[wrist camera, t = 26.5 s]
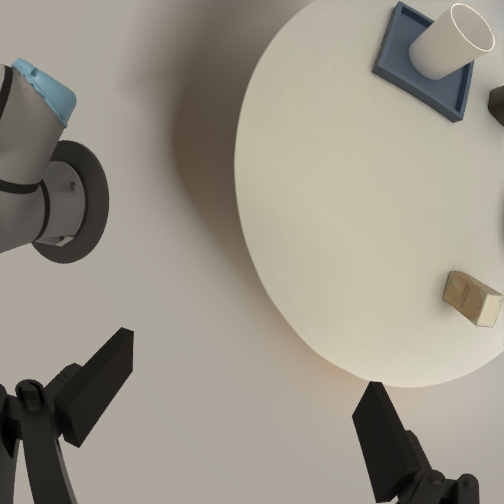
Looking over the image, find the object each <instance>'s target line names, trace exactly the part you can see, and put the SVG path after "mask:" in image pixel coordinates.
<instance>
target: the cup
mask: <svg viewBox="0 0 504 504" xmlns="http://www.w3.org/2000/svg"><path fill="white" fill-rule="evenodd" d="M494 44H495V42H494V36H493V33H492V31H491V29H490V27H489V25H488V24H487V23H486V21H485V20H484V19H483V18H482V17H481V16H480V15H479V14H478V13H477V12H476V11H475V10H473V9H472V8H470V7H469V6H466V5H464V4H454V5H453V6H451V7H450V8H449V9H448V10H447V11H446V12H445V13H444V14H443V15H441V16H440V17H439V18H438V19H437V20H436V21H435V22H434V23H433V24H432V25H431V26H430V27H429V28H428V29H427V30H425V31H424V32H423V33H422V34H421V35H420V36H419V37H418V38H417V39H416V40H415V41H414V42H413V43H412V44H411V45H410V47H409V52H408V53H409V58H410V61H411V63H412V64H413V66H414V67H415V69H416V70H417V71H418V72H419V73H420V74H422V75H423V76H425V77H426V78H429V79H432V80H439V79H441V78H443V77H445V76H447V75H448V74H450V73H452V72H453V71H455V70H457V69H459V68H461V67H462V66H464V65H466V64H468V63H469V62H471V61H473V60H475V59H477V58H479V57H480V56H482V55H484V54H486V53H488V52H490V51H491V50H492V49H493V48H494Z"/></svg>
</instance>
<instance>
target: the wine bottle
mask: <svg viewBox="0 0 504 504" xmlns="http://www.w3.org/2000/svg"><path fill="white" fill-rule="evenodd" d="M489 111H490V112H491V113H492V114H493V115H494V116H495V117H496V118H497V119H498V120H499V121H500V122H501V123H502V124H503V125H504V86H501V87H498V88H496V89H493V90H492V92H491V96H490V101H489Z"/></svg>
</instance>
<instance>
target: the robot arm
mask: <svg viewBox="0 0 504 504" xmlns="http://www.w3.org/2000/svg"><path fill="white" fill-rule="evenodd" d="M75 105H76V96H75V94H74V92H72V91H71V90H70V89H69V88H67V87H66V86H64V85H63V84H61V83H60V82H58V81H57V80H55V79H53V78H52V77H50V76H49V75H47V74H46V73H44V72H42V71H41V70H39V69H38V68H36V67H34V66H33V65H31V64H30V63H28V62H26V61H25V60H23V59H21V58H18V59H17V60H16V61H15V62H13V64H12V67H8V66H5V65H3V64H0V253H2V252H5V251H8V250H10V249H13V248H16V247H19V246H22V245H25V244H27V243H31V242H38V243H43V244H49V245H57V246H63V245H64V244H66V243H68V242H69V241H71V240H72V239H74V238H75V237H76V236H77V235H78V233H79V232H80V230H81V229H82V227H83V225H84V222H85V219H86V216H87V210H88V194H87V188H86V185H85V182H84V179H83V177H82V175H81V174H80V172H79V171H78V170H77V169H76V168H75V167H74V166H73V165H71V164H70V163H68V162H64V161H50V162H49V160H50V158H51V156H52V154H53V151H54V149H55V147H56V145H57V143H58V140H59V138H60V136H61V134H62V132H63V130H64V128H66V127H67V122H68V120H69V118H70V116H71V114H72V112H73V110H74V108H75ZM133 339H134V331H131V330H128V329H125V328H122V327H121V328H120V329H119V330H118V331H117V332H116V333H115V334H114V335H113V336H112V337H111V338H110V339H109V340H108V341H107V342H106V343H105V344H104V345H103V346H102V347H101V348H100V349H99V350H98V351H97V352H96V353H95V354H94V355H93V357H92V358H91V359H90V360H89V361H88V362H87V363H86V364H85V365H84V366H83V367H82V366H80V365H78V364H76V363H73V364H71V365H69V366H66V367H65V368H64V369H63V370H62V371H61V372H60V374H58V375H57V376H56V377H55V379H53V380H52V381H51V382H50V383H49V384H48V385H47V386H46V387H45V388H43V385H42V384H40V383H39V382H38V381H35V380H30V379H27V380H23V381H21V382H19V383H18V384H17V385H16V388H15V391H16V395H17V397H15V396H12V395H9V394H7V392H6V389H5V387H4V386H2V385H1V384H0V504H13V495H14V482H15V471H16V463H17V455H18V449H19V442H20V440H23V447H24V454H25V461H26V467H27V472H28V477H29V482H30V486H31V491H32V496H33V499H34V504H77V501H76V498H75V495H74V492H73V489H72V487H71V483H70V480H69V477H68V473H67V470H66V467H65V463H64V460H63V455H62V451H61V447H60V443H59V440H58V438H59V437H60V435H61V434H63V437H64V440H65V441H66V442H68V443H70V444H72V445H74V446H76V447H78V448H79V447H80V446H81V444H82V443H83V442H84V440H85V438H86V437H87V436H88V434H89V433H90V431H91V430H92V428H93V427H94V425H95V424H96V422H97V421H98V419H99V418H100V417H101V415H102V414H103V412H104V411H105V409H106V407H108V405H109V404H110V402H111V401H112V399H113V398H114V397H115V395H116V394H117V392H118V391H119V389H120V388H121V387H122V385H123V384H124V382H125V381H126V380H127V378H128V377H129V375H130V374H131V373H132V371H133ZM352 418H353V422H354V425H355V428H356V432H357V435H358V439H359V442H360V445H361V449H362V452H363V456H364V459H365V463H366V467H367V470H368V474H369V477H370V481H371V485H372V488H373V492H374V496H375V500H376V503H383V502H390V501H391V500H392V499H393V498H394V497H395V496H396V495H397V497H398V501H397V502H396V503H395V504H479V483H478V480H477V479H476V477H474V476H473V475H471V474H463V475H461V476H460V477H459V479H457V480H452V479H445V476H444V475H443V474H442V473H441V472H439V471H437V470H432V468H431V466H430V464H429V462H428V459H427V457H426V455H425V453H424V451H422V447H421V445H420V443H419V441H418V439H417V437H416V436H415V434H414V433H412V431H411V430H405V429H404V427H403V425H402V423H401V421H400V419H399V417H398V415H397V413H396V410H395V408H394V406H393V404H392V402H391V400H390V398H389V396H388V394H387V392H386V390H385V388H384V386H383V384H382V382H373V381H370V382H369V385H368V386H367V388H366V390H365V393H364V394H363V396H362V398H361V400H360V402H359V404H358V406H357V408H356V410H355V412H354V413H353V415H352Z"/></svg>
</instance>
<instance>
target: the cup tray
mask: <svg viewBox="0 0 504 504" xmlns="http://www.w3.org/2000/svg"><path fill="white" fill-rule="evenodd" d="M433 23H434V21H433V20H431V19H429V18H428V17H426V16H425V15H423V14H421V13H420V12H418V11H416V10H415V9H413V8H411V7H409V6H408V5H406V4H403V3H402V2H400V1H399V2H398V3H397V5H396V6H395V8H394V10H393V13H392V16H391V19H390V22H389V25H388V28H387V31H386V34H385V37H384V39H383V42H382V45H381V48H380V51H379V54H378V57H377V59H376V62H375V65H374V68H373V70H372V72H373V73H375V74H376V75H378V76H380V77H382V78H384V79H386V80H388V81H389V82H391V83H393V84H395V85H396V86H398V87H400V88H402V89H403V90H405V91H407V92H408V93H410V94H412V95H413V96H415V97H416V98H418V99H420V100H421V101H423V102H424V103H426V104H427V105H429V106H430V107H432V108H433V109H435V110H436V111H438V112H439V113H441V114H442V115H444V116H445V117H446V118H448V119H449V120H451V121H452V122H453V123H454V122H457V121H461V120H463V116H464V112H465V107H466V103H467V98H468V93H469V88H470V83H471V77H472V71H473V65H474V60H473V61H471V62H469V63H468V64H466V65H464V66H462V67H461V68H459V69H457V70H455V71H453V72H452V73H450V74H448V75H447V76H445V77H443V78H441V79H439V80H432V79H429V78H426V77H425V76H423V75H422V74H420V73H419V72H418V71H417V70H416V69H415V67H414V66H413V64H412V63H411V61H410V58H409V53H408V52H409V47H410V45H411V44H412V43H413V42H414V41H415V40H416V39H417V38H418V37H419V36H420V35H421V34H422V33H423V32H424V31H425V30H427V29H428V28H429V27H430V26H431V25H432V24H433Z"/></svg>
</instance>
